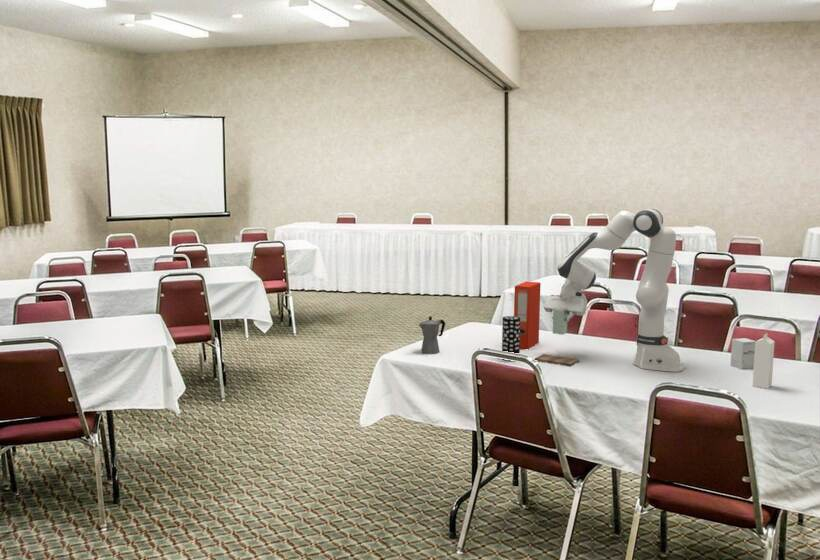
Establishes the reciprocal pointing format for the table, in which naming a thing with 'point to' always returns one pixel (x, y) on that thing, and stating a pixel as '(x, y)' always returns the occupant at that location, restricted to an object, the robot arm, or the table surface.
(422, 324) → the coffeepot
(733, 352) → the supplement box
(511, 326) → the spotted tube
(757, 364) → the milk
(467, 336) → the table surface
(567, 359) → the board
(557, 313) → the tea tin
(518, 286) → the file binder
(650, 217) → the robot arm
